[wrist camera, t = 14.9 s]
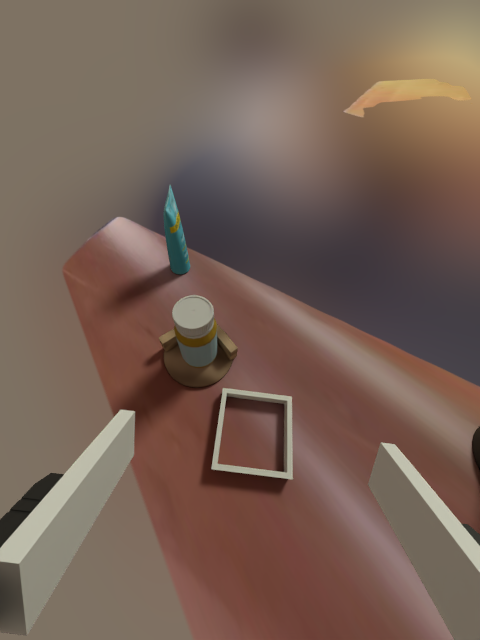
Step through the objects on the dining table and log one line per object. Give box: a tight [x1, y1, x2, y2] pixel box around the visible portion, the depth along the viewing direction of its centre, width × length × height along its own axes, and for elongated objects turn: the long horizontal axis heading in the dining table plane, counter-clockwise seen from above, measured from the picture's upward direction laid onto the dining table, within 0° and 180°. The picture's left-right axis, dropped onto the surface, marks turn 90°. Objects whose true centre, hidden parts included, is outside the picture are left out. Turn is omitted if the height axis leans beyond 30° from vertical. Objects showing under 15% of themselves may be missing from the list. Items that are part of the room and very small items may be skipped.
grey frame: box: [211, 388, 293, 479], centre depth 41 cm, size 13×13×2 cm
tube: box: [164, 185, 190, 274], centre depth 53 cm, size 7×5×19 cm, turn 7°
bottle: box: [172, 295, 217, 368], centre depth 42 cm, size 7×7×15 cm
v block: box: [159, 323, 238, 388], centre depth 48 cm, size 14×15×4 cm
